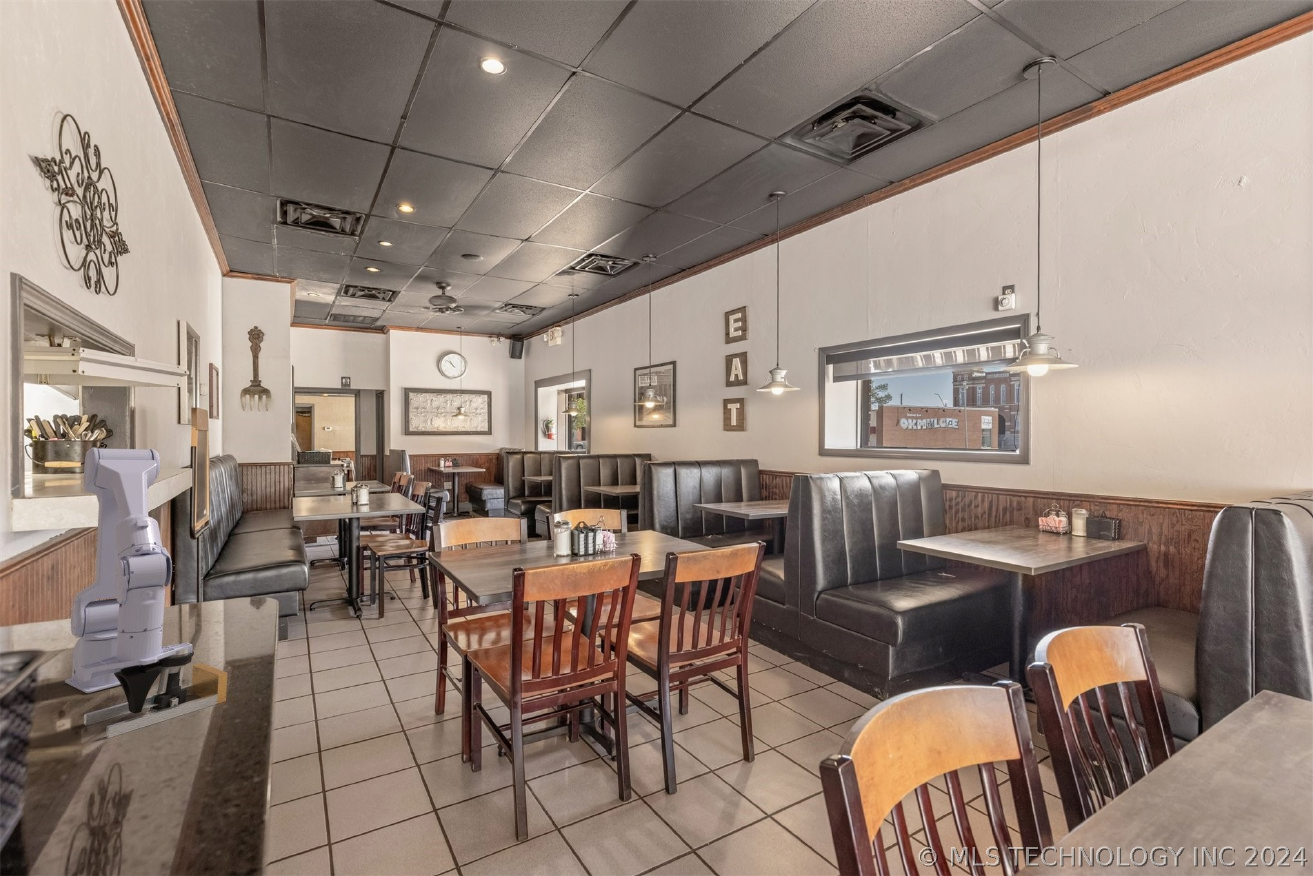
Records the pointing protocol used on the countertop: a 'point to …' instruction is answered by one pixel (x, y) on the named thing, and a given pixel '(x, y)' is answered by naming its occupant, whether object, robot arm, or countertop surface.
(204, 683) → the rail
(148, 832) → the countertop surface
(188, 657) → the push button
